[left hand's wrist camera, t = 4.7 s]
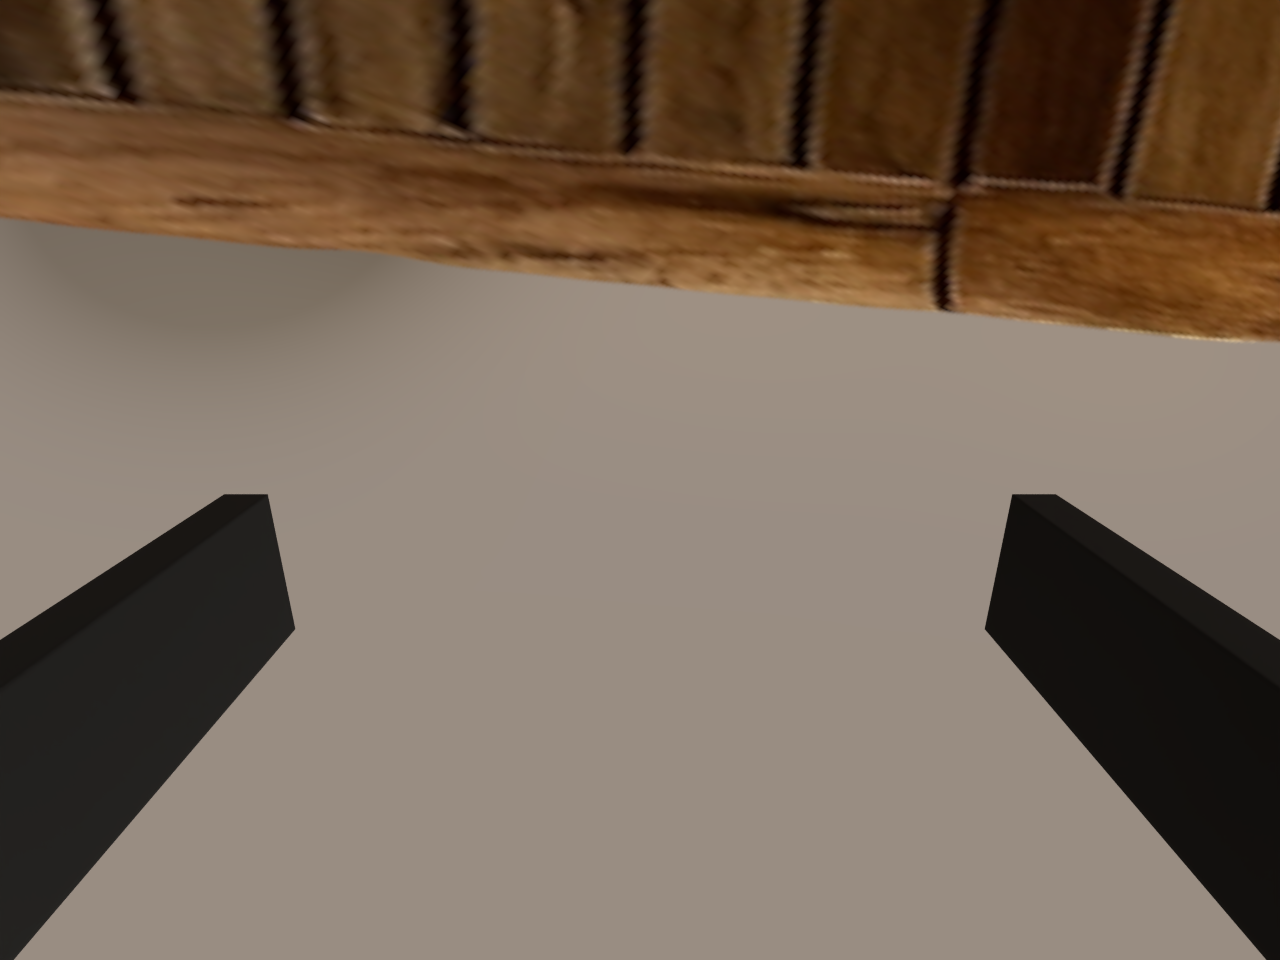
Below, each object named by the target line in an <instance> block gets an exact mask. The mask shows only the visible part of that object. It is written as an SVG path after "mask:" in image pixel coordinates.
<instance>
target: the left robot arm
mask: <svg viewBox="0 0 1280 960" xmlns="http://www.w3.org/2000/svg"><path fill="white" fill-rule="evenodd" d="M294 630H295V626H294V621H293V616H292V611H291V606H290V601H289V596H288V592H287V587H286V582H285V577H284V572H283V567H282V562H281V557H280V552H279V547H278V543H277V538H276V533H275V528H274V523H273V518H272V513H271V509H270V504H269V499H268V495H267V494H224V495H223V496H221V497H219V498H218V499H216V500H215V501H213V502H212V503H210V504H209V505H207V506H206V507H204V508H203V509H201V510H199V511H198V512H196V513H195V514H193V515H192V516H190V517H189V518H187V519H186V520H184V521H183V522H181V523H179V524H178V525H176V526H175V527H173V528H172V529H170V530H169V531H167V532H166V533H164V534H163V535H161V536H159V537H158V538H156V539H155V540H153V541H152V542H150V543H149V544H147V545H146V546H144V547H143V548H141V549H139V550H138V551H136V552H135V553H133V554H132V555H130V556H129V557H127V558H126V559H124V560H123V561H121V562H119V563H118V564H116V565H115V566H113V567H112V568H110V569H109V570H107V571H106V572H104V573H103V574H101V575H99V576H98V577H96V578H95V579H93V580H92V581H90V582H89V583H87V584H86V585H84V586H83V587H81V588H79V589H78V590H76V591H75V592H73V593H72V594H70V595H69V596H67V597H66V598H64V599H63V600H61V601H60V602H58V603H56V604H55V605H53V606H52V607H50V608H49V609H47V610H46V611H44V612H43V613H41V614H39V615H38V616H36V617H35V618H33V619H32V620H30V621H29V622H27V623H26V624H24V625H23V626H21V627H19V628H18V629H16V630H15V631H13V632H12V633H10V634H9V635H7V636H6V637H4V638H3V639H1V640H0V960H14V959H15V957H16V956H17V955H18V954H19V953H20V952H21V950H22V949H23V948H24V947H25V946H26V945H27V943H28V942H29V941H30V940H31V939H32V938H33V936H34V935H35V934H36V933H37V932H38V930H39V929H40V928H41V927H42V926H43V925H44V923H45V922H46V921H47V920H48V919H49V918H50V916H51V915H52V914H53V913H54V912H55V910H56V909H57V908H58V907H59V906H60V905H61V903H62V902H63V901H64V900H65V899H66V898H67V896H68V895H69V894H70V893H71V892H72V891H73V889H74V888H75V887H76V886H77V885H78V884H79V882H80V881H81V880H82V879H83V878H84V876H85V875H86V874H87V873H88V872H89V871H90V869H91V868H92V867H93V866H94V865H95V864H96V862H97V861H98V860H99V859H100V858H101V857H102V855H103V854H104V853H105V852H106V851H107V849H108V848H109V847H110V846H111V845H112V844H113V842H114V841H115V840H116V839H117V838H118V836H119V835H120V834H121V833H122V832H123V831H124V829H125V828H126V827H127V826H128V825H129V824H130V822H131V821H132V820H133V819H134V818H135V816H136V815H137V814H138V813H139V812H140V811H141V810H142V808H143V807H144V806H145V805H146V804H147V802H148V801H149V800H150V799H151V798H152V797H153V795H154V794H155V793H156V792H157V791H158V790H159V788H160V787H161V786H162V785H163V784H164V782H165V781H166V780H167V779H168V778H169V777H170V775H171V774H172V773H173V772H174V771H175V770H176V768H177V767H178V766H179V765H180V764H181V763H182V761H183V760H184V759H185V758H186V757H187V755H188V754H189V753H190V752H191V751H192V750H193V748H194V747H195V746H196V745H197V744H198V743H199V741H200V740H201V739H202V738H203V737H204V736H205V734H206V733H207V732H208V731H209V730H210V728H211V727H212V726H213V725H214V724H215V723H216V721H217V720H218V719H219V718H220V717H221V716H222V714H223V713H224V712H225V711H226V710H227V708H228V707H229V706H230V705H231V704H232V703H233V702H234V700H235V699H236V698H237V697H238V696H239V694H240V693H241V692H242V691H243V690H244V689H245V687H246V686H247V685H248V684H249V683H250V682H251V680H252V679H253V678H254V677H255V676H256V674H257V673H258V672H259V671H260V670H261V669H262V667H263V666H264V665H265V664H266V663H267V661H268V660H269V659H270V658H271V657H272V656H273V655H274V653H275V652H276V651H277V650H278V649H279V647H280V646H281V645H282V644H283V643H284V642H285V640H286V639H287V638H288V637H289V636H290V635H291V633H292V632H293V631H294ZM985 630H986V631H987V632H988V633H989V635H990V636H991V637H992V638H993V639H994V640H995V642H996V643H997V644H998V645H999V646H1000V647H1001V649H1002V650H1003V651H1004V652H1005V653H1006V654H1007V656H1008V657H1009V658H1010V659H1011V660H1012V662H1013V663H1014V664H1015V665H1016V666H1017V667H1018V669H1019V670H1020V671H1021V672H1022V673H1023V674H1024V676H1025V677H1026V678H1027V679H1028V680H1029V682H1030V683H1031V684H1032V685H1033V686H1034V687H1035V689H1036V690H1037V691H1038V692H1039V693H1040V694H1041V696H1042V697H1043V698H1044V699H1045V700H1046V701H1047V703H1048V704H1049V705H1050V706H1051V707H1052V708H1053V710H1054V711H1055V712H1056V713H1057V714H1058V716H1059V717H1060V718H1061V719H1062V720H1063V721H1064V723H1065V724H1066V725H1067V726H1068V727H1069V728H1070V730H1071V731H1072V732H1073V733H1074V734H1075V736H1076V737H1077V738H1078V739H1079V740H1080V741H1081V743H1082V744H1083V745H1084V746H1085V747H1086V748H1087V750H1088V751H1089V752H1090V753H1091V754H1092V756H1093V757H1094V758H1095V759H1096V760H1097V761H1098V763H1099V764H1100V765H1101V766H1102V767H1103V768H1104V770H1105V771H1106V772H1107V773H1108V774H1109V775H1110V777H1111V778H1112V779H1113V780H1114V781H1115V783H1116V784H1117V785H1118V786H1119V787H1120V788H1121V790H1122V791H1123V792H1124V793H1125V794H1126V795H1127V797H1128V798H1129V799H1130V800H1131V801H1132V802H1133V804H1134V805H1135V806H1136V807H1137V808H1138V809H1139V811H1140V812H1141V813H1142V814H1143V815H1144V817H1145V818H1146V819H1147V820H1148V821H1149V822H1150V824H1151V825H1152V826H1153V827H1154V828H1155V829H1156V831H1157V832H1158V833H1159V834H1160V835H1161V836H1162V838H1163V839H1164V840H1165V841H1166V842H1167V844H1168V845H1169V846H1170V847H1171V848H1172V849H1173V851H1174V852H1175V853H1176V854H1177V855H1178V857H1179V858H1180V859H1181V860H1182V861H1183V862H1184V864H1185V865H1186V866H1187V867H1188V868H1189V869H1190V871H1191V872H1192V873H1193V874H1194V875H1195V876H1196V878H1197V879H1198V880H1199V881H1200V882H1201V884H1202V885H1203V886H1204V887H1205V888H1206V889H1207V891H1208V892H1209V893H1210V894H1211V895H1212V896H1213V898H1214V899H1215V900H1216V901H1217V902H1218V903H1219V905H1220V906H1221V907H1222V908H1223V909H1224V911H1225V912H1226V913H1227V914H1228V915H1229V916H1230V917H1231V919H1232V920H1233V921H1234V922H1235V923H1236V925H1237V926H1238V927H1239V928H1240V929H1241V930H1242V932H1243V933H1244V934H1245V935H1246V936H1247V938H1248V939H1249V940H1250V941H1251V942H1252V943H1253V945H1254V946H1255V947H1256V948H1257V949H1258V950H1259V952H1260V953H1261V954H1262V955H1263V956H1264V957H1265V959H1266V960H1280V640H1279V639H1277V638H1276V637H1274V636H1273V635H1271V634H1270V633H1268V632H1267V631H1265V630H1264V629H1262V628H1261V627H1259V626H1257V625H1256V624H1254V623H1253V622H1251V621H1250V620H1248V619H1247V618H1245V617H1244V616H1242V615H1241V614H1239V613H1237V612H1236V611H1234V610H1233V609H1231V608H1230V607H1228V606H1227V605H1225V604H1224V603H1222V602H1221V601H1219V600H1217V599H1216V598H1214V597H1213V596H1211V595H1210V594H1208V593H1207V592H1205V591H1204V590H1202V589H1201V588H1199V587H1197V586H1196V585H1194V584H1193V583H1191V582H1190V581H1188V580H1187V579H1185V578H1184V577H1182V576H1181V575H1179V574H1177V573H1176V572H1174V571H1173V570H1171V569H1170V568H1168V567H1167V566H1165V565H1164V564H1162V563H1161V562H1159V561H1157V560H1156V559H1154V558H1153V557H1151V556H1150V555H1148V554H1147V553H1145V552H1144V551H1142V550H1141V549H1139V548H1137V547H1136V546H1134V545H1133V544H1131V543H1130V542H1128V541H1127V540H1125V539H1124V538H1122V537H1121V536H1119V535H1117V534H1116V533H1114V532H1113V531H1111V530H1110V529H1108V528H1107V527H1105V526H1104V525H1102V524H1101V523H1099V522H1097V521H1096V520H1094V519H1093V518H1091V517H1090V516H1088V515H1087V514H1085V513H1084V512H1082V511H1081V510H1079V509H1077V508H1076V507H1074V506H1073V505H1071V504H1070V503H1068V502H1067V501H1065V500H1064V499H1062V498H1060V497H1059V496H1057V495H1056V494H1013V495H1012V499H1011V503H1010V508H1009V513H1008V518H1007V523H1006V528H1005V533H1004V538H1003V543H1002V547H1001V552H1000V557H999V562H998V567H997V572H996V577H995V582H994V587H993V591H992V596H991V601H990V606H989V611H988V616H987V621H986V626H985Z"/></svg>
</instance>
